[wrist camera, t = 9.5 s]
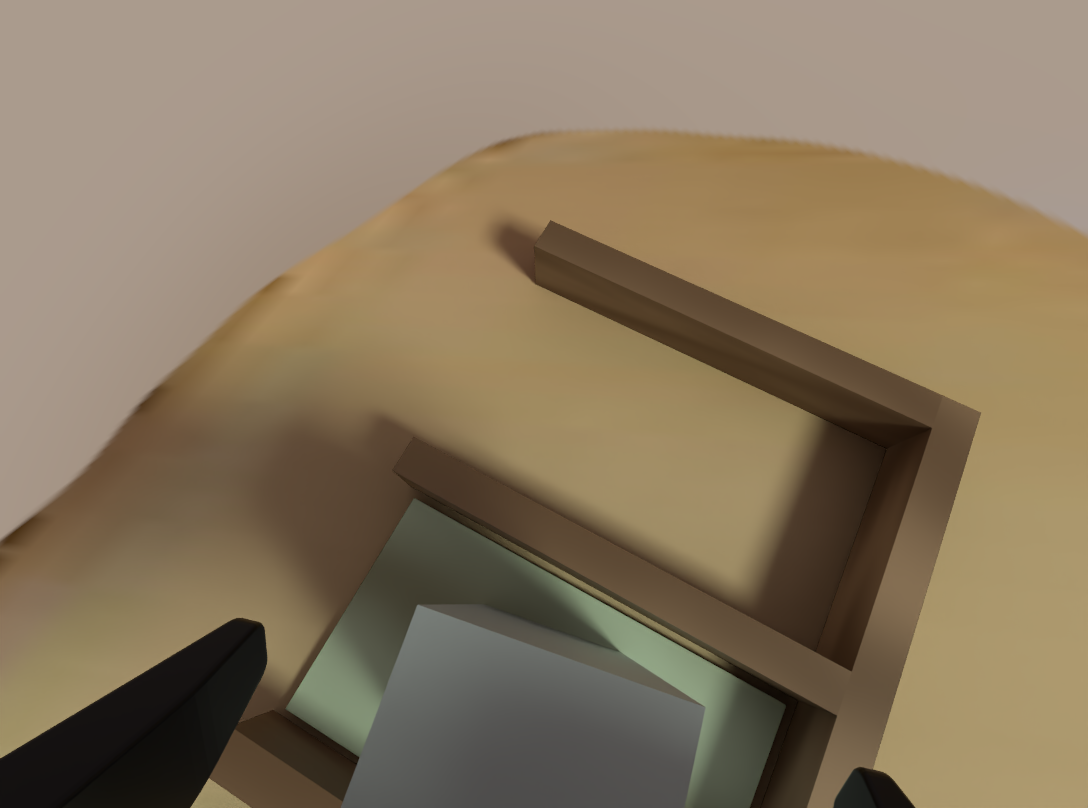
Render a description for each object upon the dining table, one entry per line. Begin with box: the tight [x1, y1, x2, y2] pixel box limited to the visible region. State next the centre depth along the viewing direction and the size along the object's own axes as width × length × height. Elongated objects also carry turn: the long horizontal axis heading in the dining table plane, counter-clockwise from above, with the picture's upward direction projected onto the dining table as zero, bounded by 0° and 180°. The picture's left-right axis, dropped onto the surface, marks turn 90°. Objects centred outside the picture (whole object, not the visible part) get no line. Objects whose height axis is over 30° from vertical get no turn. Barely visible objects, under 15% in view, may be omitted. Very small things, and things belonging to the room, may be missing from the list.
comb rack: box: [209, 220, 981, 808], centre depth 18 cm, size 19×15×2 cm
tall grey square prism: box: [341, 604, 706, 808], centre depth 13 cm, size 4×4×10 cm
